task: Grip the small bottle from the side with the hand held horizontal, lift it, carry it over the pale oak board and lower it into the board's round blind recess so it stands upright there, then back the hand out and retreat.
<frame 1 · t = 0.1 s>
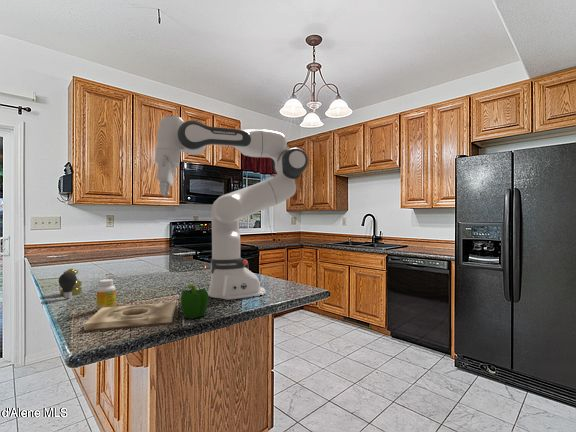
hand: (163, 195, 119), 39 cm above the countertop, tool pointing down, fingers open, 8 cm apart
socket board: (135, 318, 95), on the countertop
supplement bottle: (106, 310, 104), on the countertop
light bulb: (67, 299, 119), on the countertop
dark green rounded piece: (70, 294, 127), on the countertop
bell pepper: (194, 317, 96), on the countertop
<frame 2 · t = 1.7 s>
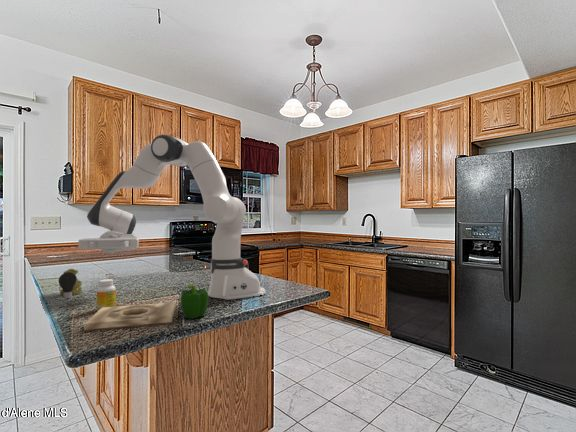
hand: (108, 245, 115), 20 cm above the countertop, tool horizontal, fingers open, 8 cm apart
nothing on the countertop moved.
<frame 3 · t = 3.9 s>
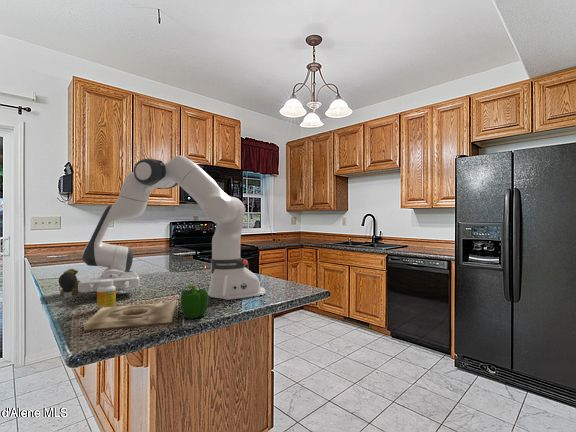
hand: (108, 287, 113), 5 cm above the countertop, tool horizontal, fingers open, 8 cm apart
nothing on the countertop moved.
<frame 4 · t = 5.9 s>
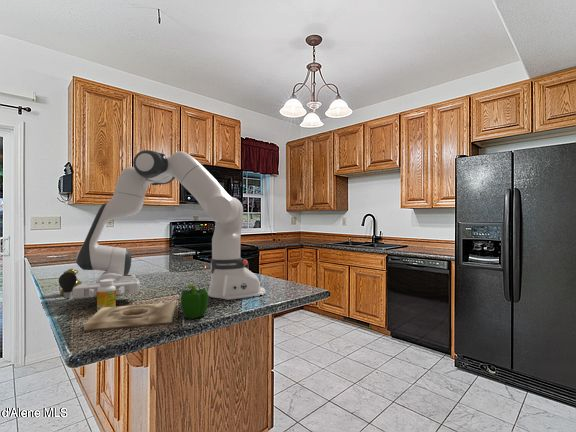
hand: (106, 293, 103), 6 cm above the countertop, tool horizontal, fingers closed on supplement bottle, 5 cm apart
supplement bottle: (106, 310, 104), on the countertop, touching gripper
everything else where it was.
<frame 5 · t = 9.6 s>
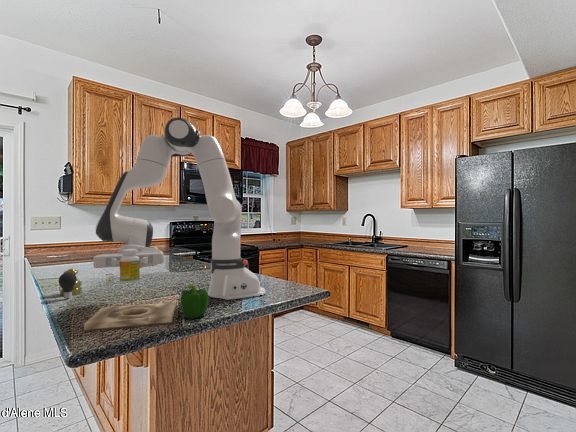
hand: (129, 262, 96), 17 cm above the countertop, tool horizontal, fingers closed on supplement bottle, 5 cm apart
supplement bottle: (129, 282, 97), point 11 cm above the countertop, touching gripper
everything else where it was.
when the fingers open (7 cm above the countertop, at t = 12.9 s): supplement bottle stays where it is, resting on socket board.
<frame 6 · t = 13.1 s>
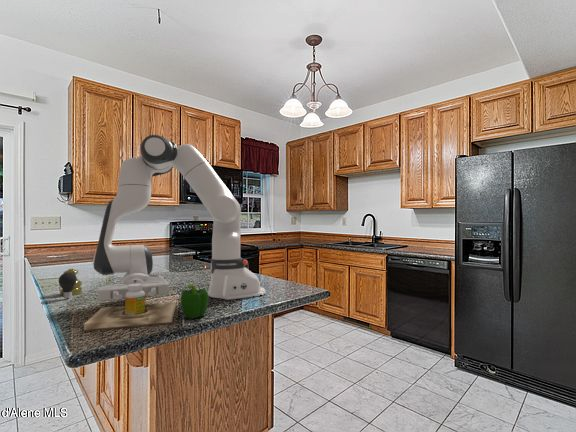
hand: (135, 295, 94), 7 cm above the countertop, tool horizontal, fingers open, 7 cm apart
supplement bottle: (135, 317, 95), resting on socket board
everything else where it was.
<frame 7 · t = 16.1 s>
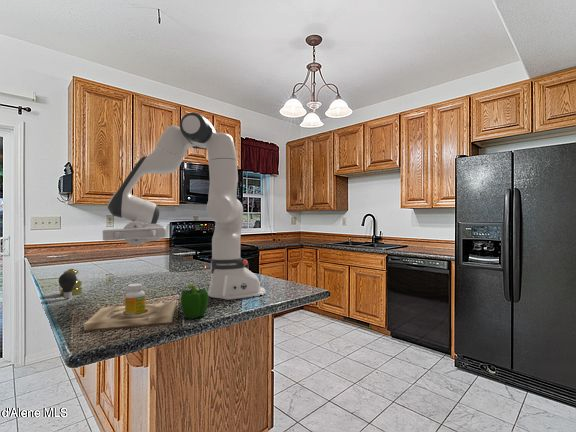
hand: (135, 234, 106), 25 cm above the countertop, tool horizontal, fingers open, 8 cm apart
nothing on the countertop moved.
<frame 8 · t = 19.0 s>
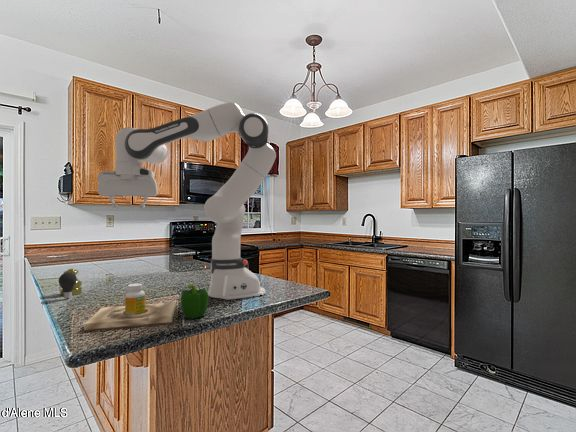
hand: (128, 208, 119), 34 cm above the countertop, tool pointing down, fingers open, 8 cm apart
nothing on the countertop moved.
at the end: supplement bottle 0.0 cm off-centre on the socket board, point 0.2 cm above the socket board's base; supplement bottle tilted 0°; the gripper is holding nothing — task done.
